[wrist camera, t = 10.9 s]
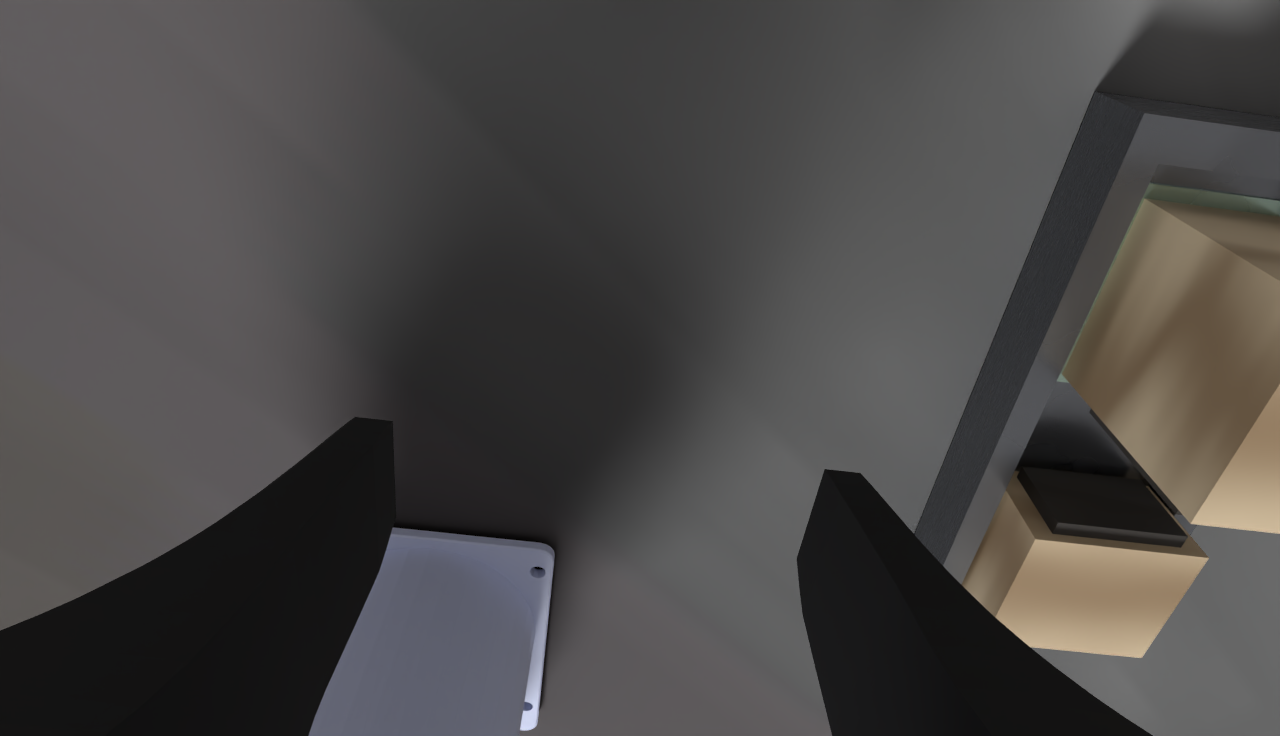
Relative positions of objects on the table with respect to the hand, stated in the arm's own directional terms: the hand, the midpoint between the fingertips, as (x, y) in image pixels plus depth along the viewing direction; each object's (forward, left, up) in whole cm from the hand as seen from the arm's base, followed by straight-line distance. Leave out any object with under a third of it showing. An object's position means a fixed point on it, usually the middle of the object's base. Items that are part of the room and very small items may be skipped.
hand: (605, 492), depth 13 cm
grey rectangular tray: (-2, -14, -9) cm, 17 cm away
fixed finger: (-6, -14, -8) cm, 18 cm away
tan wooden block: (+1, -14, -8) cm, 16 cm away
